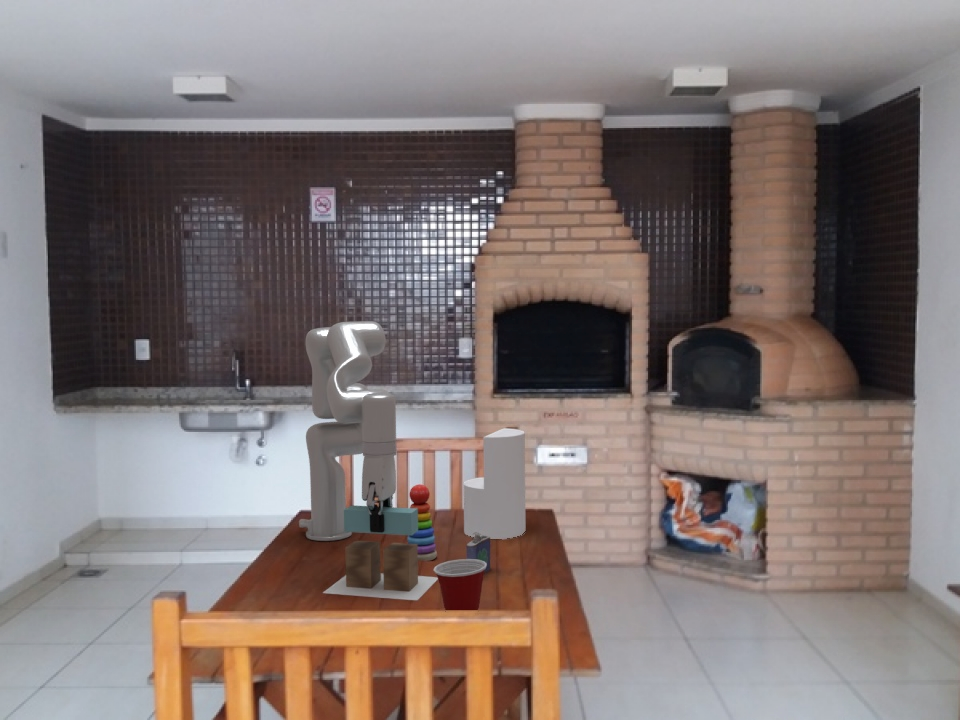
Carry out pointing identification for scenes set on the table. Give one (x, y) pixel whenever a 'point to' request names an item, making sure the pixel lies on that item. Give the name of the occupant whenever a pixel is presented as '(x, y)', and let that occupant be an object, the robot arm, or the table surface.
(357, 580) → the pillar left
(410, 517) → the beam
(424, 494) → the stacking toy
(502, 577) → the table surface
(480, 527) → the cylinder
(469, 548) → the flask
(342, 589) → the board
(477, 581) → the plastic cup
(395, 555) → the pillar right
